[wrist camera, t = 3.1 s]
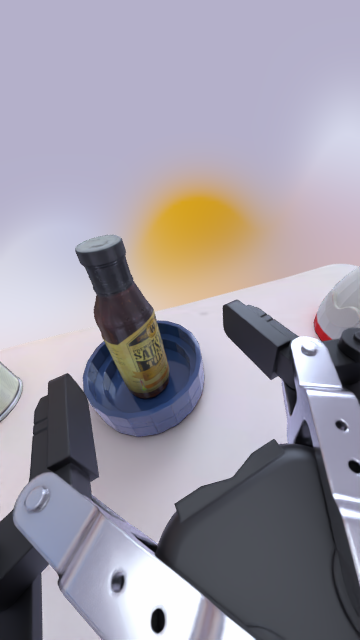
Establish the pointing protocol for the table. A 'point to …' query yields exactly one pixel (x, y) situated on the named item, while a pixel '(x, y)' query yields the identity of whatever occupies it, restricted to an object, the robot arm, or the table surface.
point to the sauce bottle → (125, 317)
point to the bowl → (150, 413)
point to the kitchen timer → (340, 308)
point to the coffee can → (8, 390)
